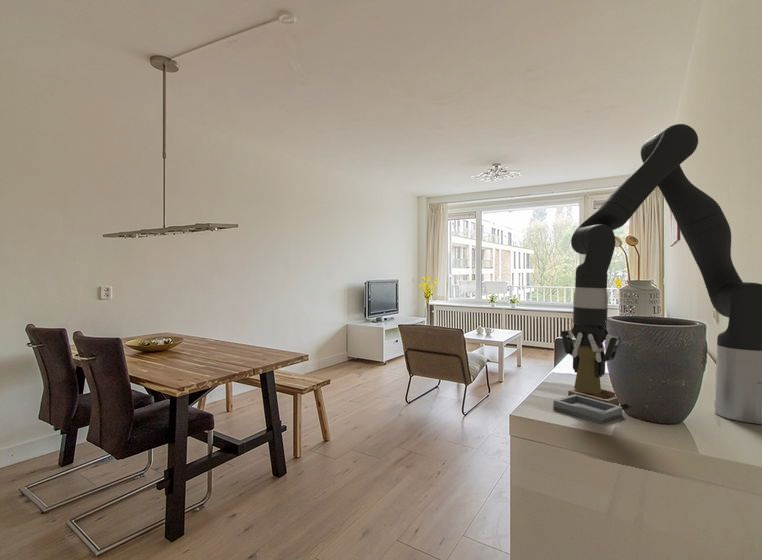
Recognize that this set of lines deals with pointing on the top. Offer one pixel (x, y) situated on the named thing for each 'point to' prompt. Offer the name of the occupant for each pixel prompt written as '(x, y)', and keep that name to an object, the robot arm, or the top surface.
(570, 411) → the tray
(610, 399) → the socket block
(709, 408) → the top surface
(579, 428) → the top surface
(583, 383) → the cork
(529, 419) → the top surface
